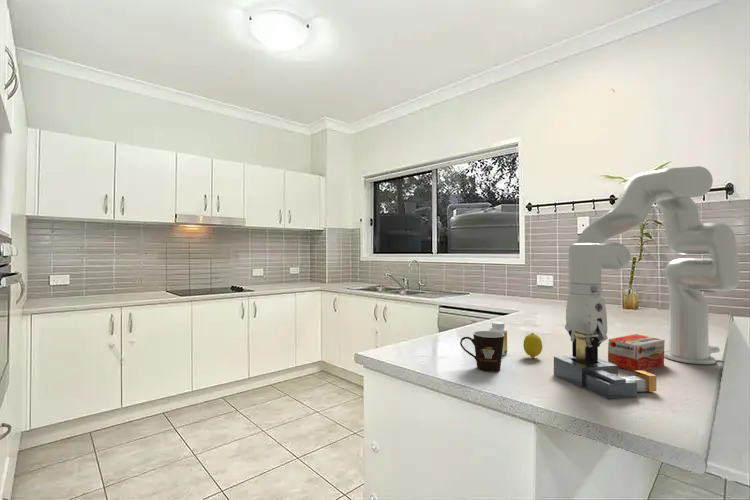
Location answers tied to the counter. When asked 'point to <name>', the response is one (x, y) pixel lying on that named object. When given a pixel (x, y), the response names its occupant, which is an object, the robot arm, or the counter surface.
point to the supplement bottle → (501, 329)
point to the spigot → (581, 348)
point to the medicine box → (636, 352)
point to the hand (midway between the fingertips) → (584, 358)
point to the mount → (595, 377)
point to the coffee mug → (487, 350)
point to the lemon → (532, 345)
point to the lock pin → (643, 381)
